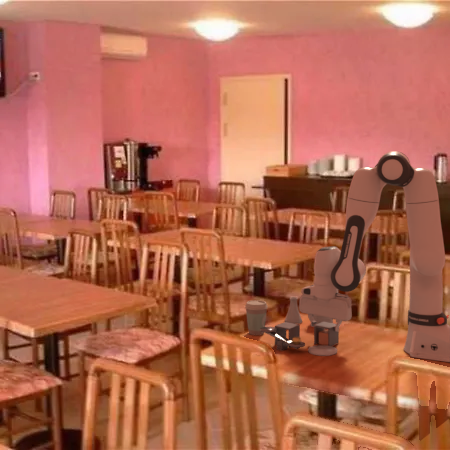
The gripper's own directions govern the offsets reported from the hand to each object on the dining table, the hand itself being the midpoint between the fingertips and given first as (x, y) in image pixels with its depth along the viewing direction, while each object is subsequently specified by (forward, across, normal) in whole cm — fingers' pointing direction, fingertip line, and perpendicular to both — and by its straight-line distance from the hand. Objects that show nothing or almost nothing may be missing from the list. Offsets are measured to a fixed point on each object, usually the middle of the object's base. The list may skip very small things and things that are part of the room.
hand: (324, 328), depth 278 cm
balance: (+6, +8, +14) cm, 18 cm away
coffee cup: (+6, +28, +4) cm, 28 cm away
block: (+6, -1, 0) cm, 6 cm away
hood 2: (+6, -1, 0) cm, 6 cm away
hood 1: (+6, +10, +8) cm, 15 cm away
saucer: (+6, -5, +9) cm, 11 cm away
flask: (+6, +25, -18) cm, 31 cm away
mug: (+6, +13, -24) cm, 28 cm away
